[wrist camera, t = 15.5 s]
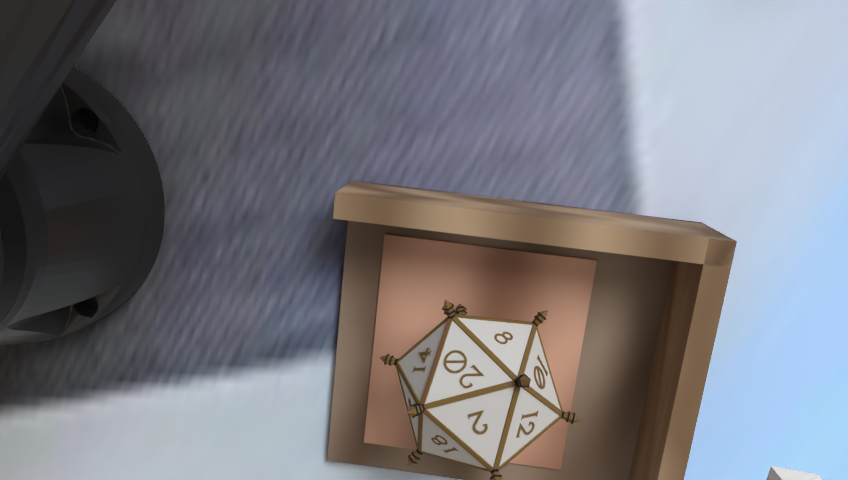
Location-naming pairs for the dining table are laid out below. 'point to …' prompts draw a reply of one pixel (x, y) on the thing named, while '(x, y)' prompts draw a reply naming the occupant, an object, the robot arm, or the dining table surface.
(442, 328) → the game die
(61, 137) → the robot arm
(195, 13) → the dining table surface
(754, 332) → the dining table surface
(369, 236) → the brown wooden tray
